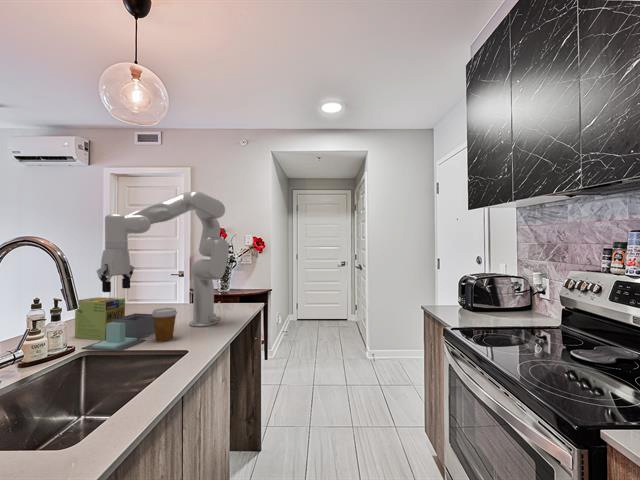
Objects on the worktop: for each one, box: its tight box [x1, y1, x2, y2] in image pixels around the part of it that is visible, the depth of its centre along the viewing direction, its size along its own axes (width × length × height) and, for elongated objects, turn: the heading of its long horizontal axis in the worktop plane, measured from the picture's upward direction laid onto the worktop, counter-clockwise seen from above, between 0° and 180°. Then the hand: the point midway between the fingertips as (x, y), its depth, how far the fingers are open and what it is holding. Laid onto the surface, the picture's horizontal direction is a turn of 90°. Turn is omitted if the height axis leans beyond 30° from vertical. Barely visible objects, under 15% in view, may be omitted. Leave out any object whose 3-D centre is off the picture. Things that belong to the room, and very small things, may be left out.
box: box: [112, 312, 155, 339], centre depth 141 cm, size 11×13×8 cm
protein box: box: [74, 296, 126, 341], centre depth 140 cm, size 10×15×16 cm
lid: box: [92, 322, 137, 349], centre depth 128 cm, size 10×12×8 cm
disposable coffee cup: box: [151, 307, 178, 342], centre depth 135 cm, size 10×10×12 cm
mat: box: [81, 338, 147, 353], centre depth 128 cm, size 16×14×1 cm
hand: (116, 290), depth 128 cm, fingers open, 9 cm apart
